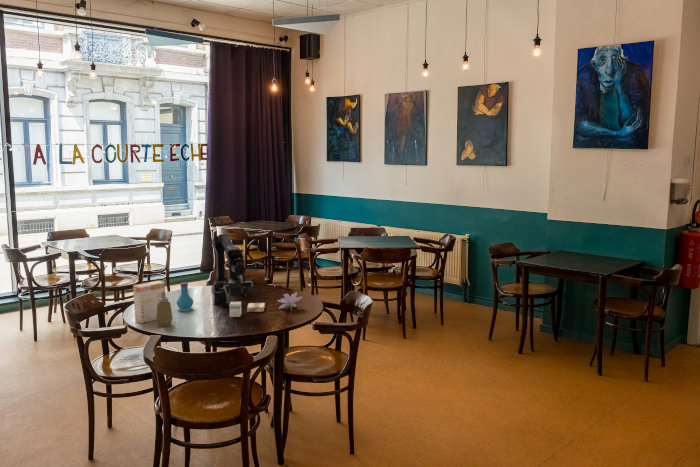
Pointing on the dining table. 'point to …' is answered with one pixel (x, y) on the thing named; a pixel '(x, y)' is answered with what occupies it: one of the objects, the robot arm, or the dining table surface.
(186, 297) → the perfume bottle
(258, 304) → the block
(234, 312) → the teal-striped cream cube
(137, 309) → the coffeecake box
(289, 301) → the water lily
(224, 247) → the robot arm
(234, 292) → the milk frother
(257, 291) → the dining table surface
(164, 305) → the squeeze bottle
